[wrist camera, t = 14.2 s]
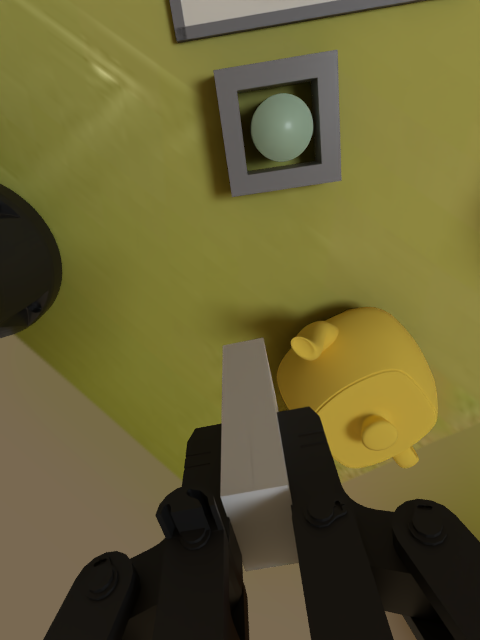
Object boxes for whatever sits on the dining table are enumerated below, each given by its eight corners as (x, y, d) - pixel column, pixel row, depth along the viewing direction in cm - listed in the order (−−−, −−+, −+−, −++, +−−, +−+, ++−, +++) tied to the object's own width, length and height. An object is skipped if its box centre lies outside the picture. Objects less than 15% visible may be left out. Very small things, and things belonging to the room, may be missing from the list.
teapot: (332, 434, 48) (363, 530, 37) (225, 319, 41) (222, 393, 30) (435, 373, 44) (505, 459, 33) (337, 235, 38) (382, 284, 26)
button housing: (232, 191, 36) (232, 196, 33) (215, 75, 32) (213, 70, 29) (333, 176, 35) (341, 180, 32) (328, 56, 31) (337, 49, 29)
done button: (253, 162, 34) (255, 165, 31) (246, 101, 32) (247, 98, 29) (307, 154, 34) (315, 156, 31) (303, 92, 32) (311, 88, 29)
